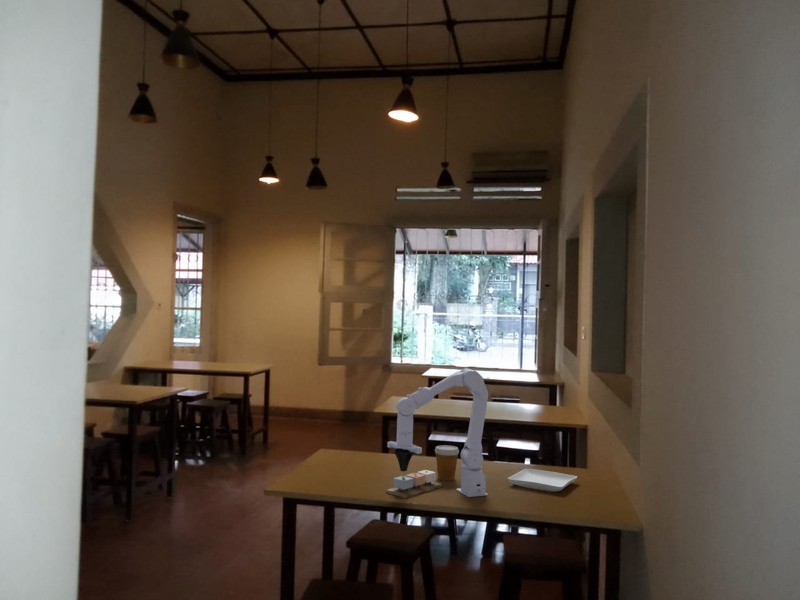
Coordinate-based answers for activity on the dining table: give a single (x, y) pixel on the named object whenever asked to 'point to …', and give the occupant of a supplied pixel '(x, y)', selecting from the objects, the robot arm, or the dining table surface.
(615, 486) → the dining table surface
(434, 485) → the board
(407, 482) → the key three
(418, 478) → the key two
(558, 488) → the salad plate
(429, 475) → the key one
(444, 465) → the disposable coffee cup
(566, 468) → the dining table surface
